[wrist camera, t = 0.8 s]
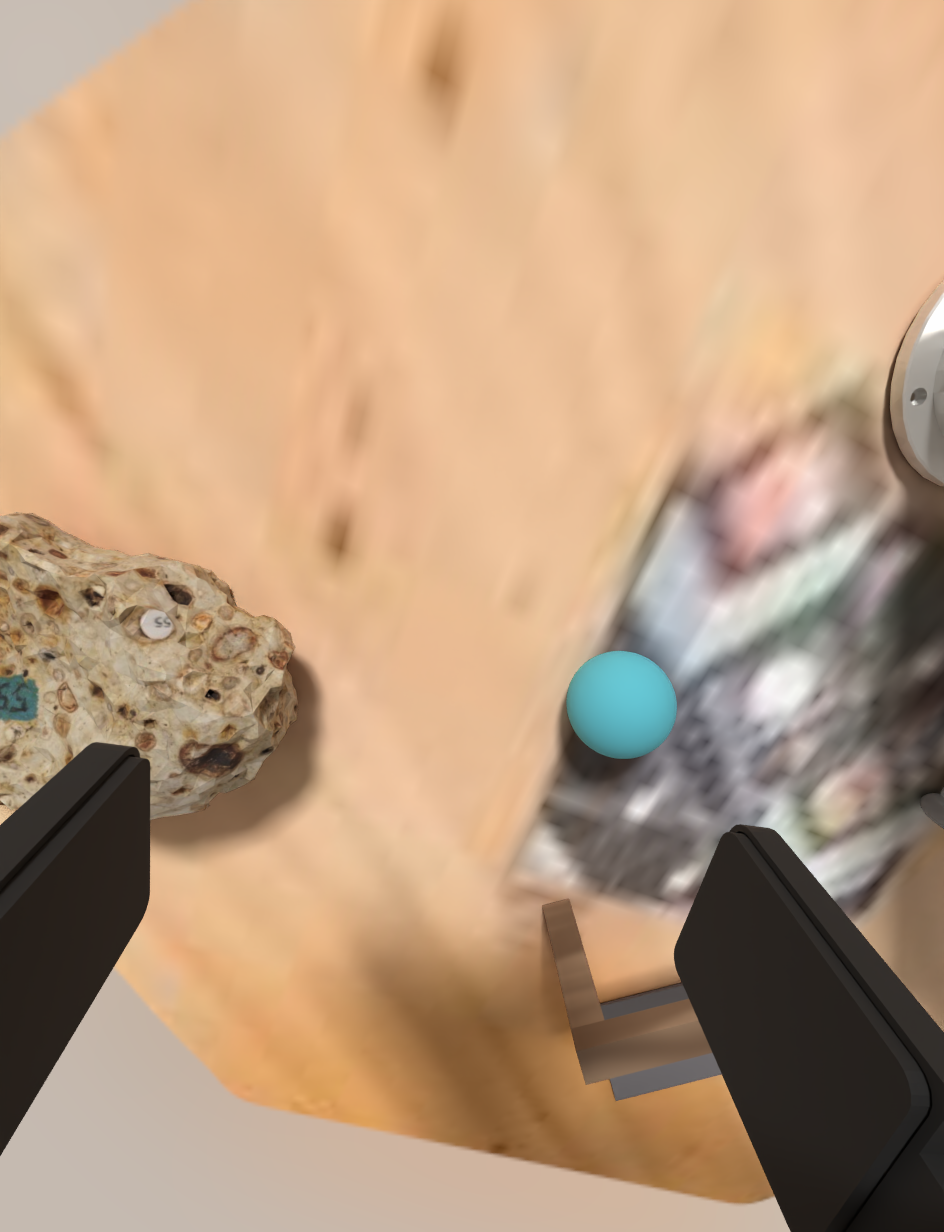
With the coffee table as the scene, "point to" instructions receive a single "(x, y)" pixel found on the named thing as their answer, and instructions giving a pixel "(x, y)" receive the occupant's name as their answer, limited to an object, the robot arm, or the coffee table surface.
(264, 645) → the rock
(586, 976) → the bridge
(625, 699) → the ball
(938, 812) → the newton's cradle
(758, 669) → the coffee table surface
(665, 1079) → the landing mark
